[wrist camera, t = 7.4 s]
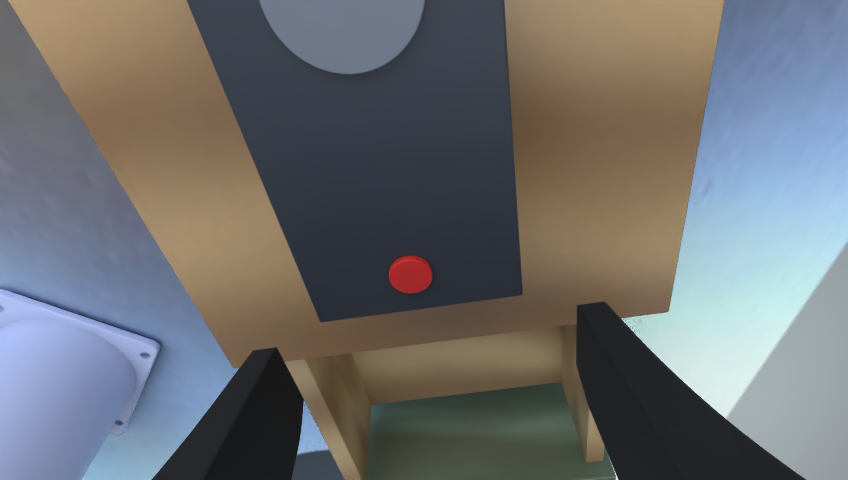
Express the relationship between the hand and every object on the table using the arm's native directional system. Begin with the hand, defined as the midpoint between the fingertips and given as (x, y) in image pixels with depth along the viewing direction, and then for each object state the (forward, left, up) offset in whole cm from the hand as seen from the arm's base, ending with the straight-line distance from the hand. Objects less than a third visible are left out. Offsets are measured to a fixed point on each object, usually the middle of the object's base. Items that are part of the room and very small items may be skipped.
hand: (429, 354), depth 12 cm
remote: (+5, +4, -3) cm, 7 cm away
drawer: (-8, -7, -10) cm, 14 cm away
